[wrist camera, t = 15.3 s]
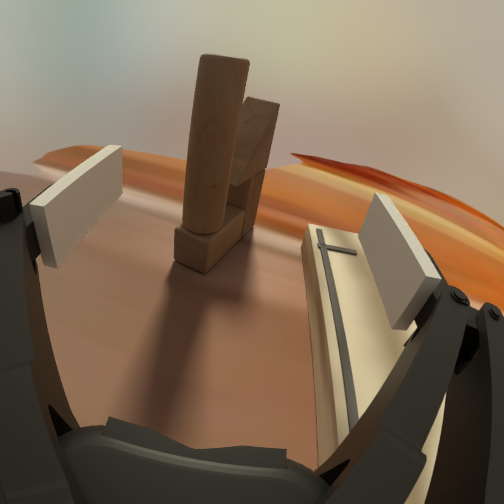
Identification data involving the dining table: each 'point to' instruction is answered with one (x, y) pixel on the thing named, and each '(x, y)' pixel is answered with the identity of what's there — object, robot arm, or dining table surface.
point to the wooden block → (222, 162)
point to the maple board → (351, 342)
